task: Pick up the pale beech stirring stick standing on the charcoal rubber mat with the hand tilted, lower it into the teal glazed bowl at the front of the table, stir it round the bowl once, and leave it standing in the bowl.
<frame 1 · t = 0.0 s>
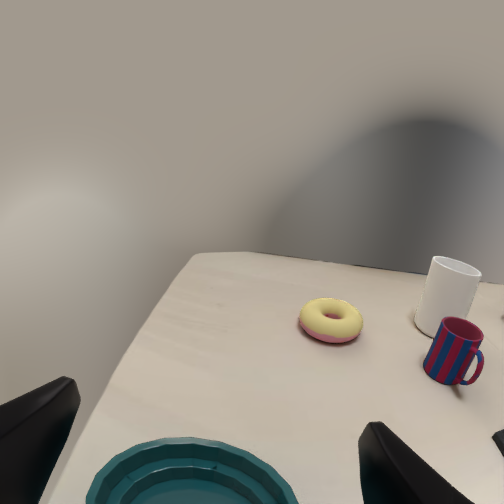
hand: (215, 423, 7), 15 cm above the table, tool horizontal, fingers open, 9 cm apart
mug: (433, 325, 45), on the table
donut: (328, 329, 42), on the table
cup: (446, 378, 31), on the table
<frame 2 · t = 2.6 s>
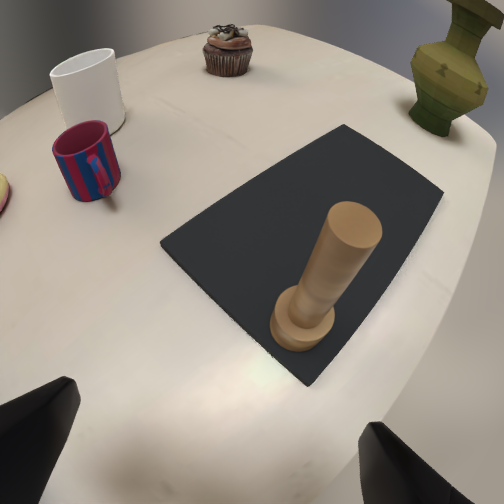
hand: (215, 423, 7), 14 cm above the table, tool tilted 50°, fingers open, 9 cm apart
cupcake: (227, 70, 51), on the table
mug: (95, 125, 39), on the table
vase: (428, 123, 48), on the table
mat: (335, 213, 31), on the table
stick: (297, 325, 23), point 1 cm above the table, touching mat
cup: (99, 190, 31), on the table
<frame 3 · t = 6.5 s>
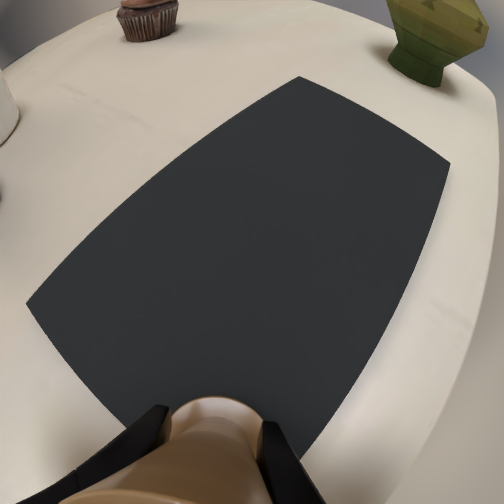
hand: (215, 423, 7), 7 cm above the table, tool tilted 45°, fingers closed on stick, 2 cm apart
cupcake: (150, 34, 35), on the table
vase: (414, 71, 35), on the table
mat: (287, 217, 20), on the table
stick: (219, 437, 13), point 1 cm above the table, touching gripper, mat
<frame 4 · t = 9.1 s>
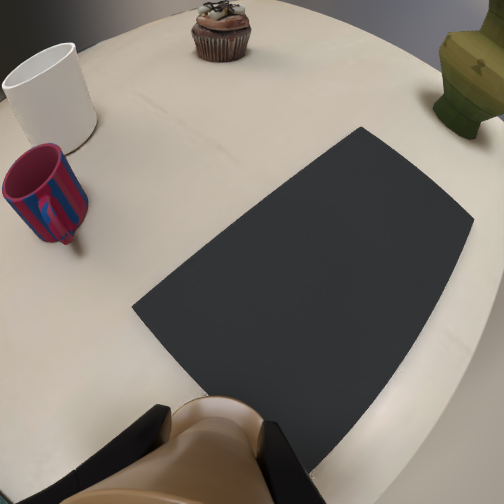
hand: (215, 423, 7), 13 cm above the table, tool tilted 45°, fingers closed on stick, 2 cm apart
cupcake: (221, 53, 42), on the table
mug: (65, 132, 32), on the table
vase: (454, 121, 39), on the table
mat: (349, 257, 25), on the table
stick: (220, 437, 13), point 7 cm above the table, touching gripper
cup: (64, 225, 25), on the table
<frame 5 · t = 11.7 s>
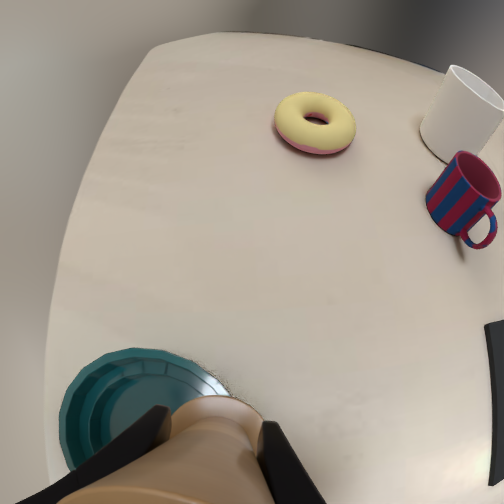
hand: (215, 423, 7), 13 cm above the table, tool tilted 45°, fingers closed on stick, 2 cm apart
mug: (441, 141, 35), on the table
bowl: (162, 437, 18), on the table
donut: (312, 132, 33), on the table
stick: (220, 436, 13), point 7 cm above the table, touching gripper
cup: (449, 223, 28), on the table
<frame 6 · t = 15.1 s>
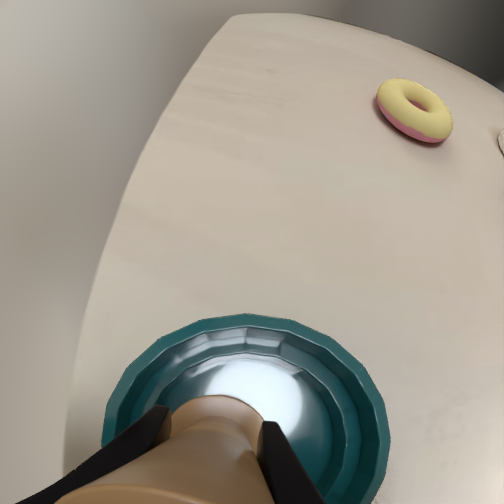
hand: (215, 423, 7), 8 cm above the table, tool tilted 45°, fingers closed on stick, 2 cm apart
bowl: (244, 441, 14), on the table
donut: (410, 119, 28), on the table
stick: (220, 436, 13), point 1 cm above the table, touching gripper
when the fingers open (7 cm above the table, at t = 17.3 s): stick stays where it is, resting on bowl.
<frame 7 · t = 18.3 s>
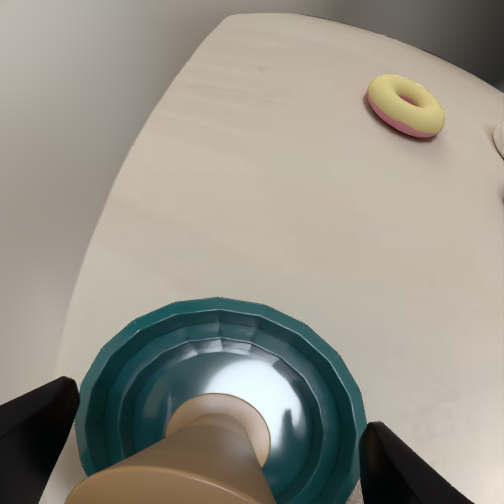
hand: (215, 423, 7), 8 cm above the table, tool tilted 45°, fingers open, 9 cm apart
bowl: (221, 431, 14), on the table
donut: (401, 115, 28), on the table
stick: (220, 433, 13), point 1 cm above the table, touching bowl
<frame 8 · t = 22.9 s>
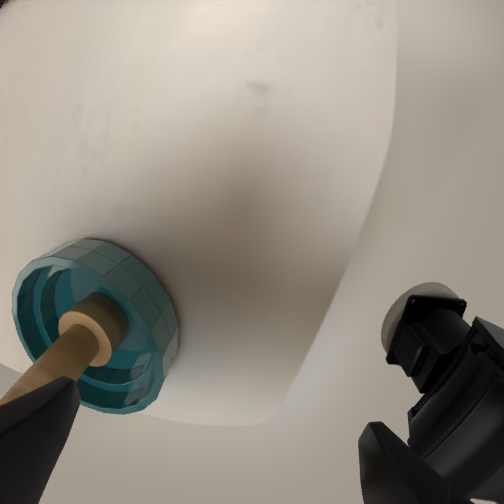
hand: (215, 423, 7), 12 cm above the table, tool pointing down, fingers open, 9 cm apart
bowl: (105, 315, 20), on the table
stick: (102, 319, 20), point 1 cm above the table, touching bowl
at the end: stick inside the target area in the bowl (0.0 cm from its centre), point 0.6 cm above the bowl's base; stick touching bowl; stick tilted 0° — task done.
